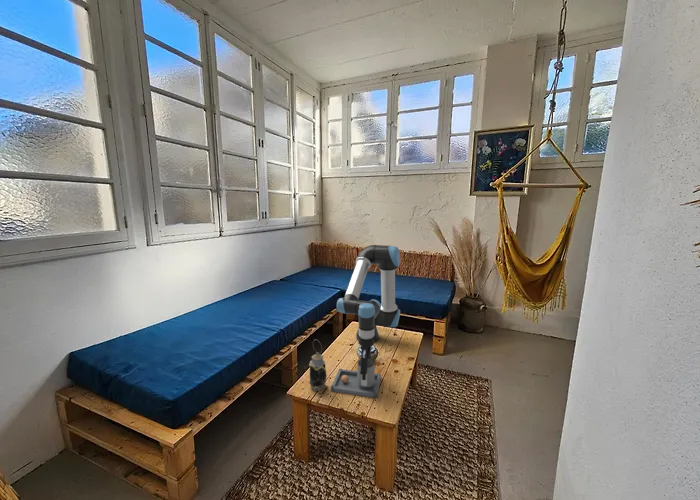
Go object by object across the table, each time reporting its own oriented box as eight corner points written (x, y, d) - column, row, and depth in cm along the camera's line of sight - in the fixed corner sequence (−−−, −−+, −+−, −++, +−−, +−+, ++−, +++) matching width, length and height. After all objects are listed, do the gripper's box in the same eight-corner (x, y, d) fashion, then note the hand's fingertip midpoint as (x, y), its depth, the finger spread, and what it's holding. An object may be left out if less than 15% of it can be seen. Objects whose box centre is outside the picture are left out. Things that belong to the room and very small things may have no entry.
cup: (373, 388, 135) (373, 369, 133) (355, 386, 137) (356, 366, 135) (375, 377, 143) (375, 359, 142) (358, 375, 145) (359, 357, 143)
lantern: (306, 387, 140) (304, 339, 135) (318, 380, 145) (318, 333, 141) (317, 395, 134) (316, 345, 130) (330, 387, 139) (329, 339, 135)
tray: (339, 372, 151) (339, 368, 151) (380, 378, 147) (380, 374, 146) (330, 392, 136) (330, 387, 136) (376, 399, 131) (376, 394, 131)
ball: (342, 379, 145) (342, 373, 144) (349, 380, 144) (349, 374, 143) (340, 384, 141) (340, 377, 141) (347, 385, 140) (347, 378, 140)
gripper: (362, 326, 147) (362, 366, 151) (354, 345, 127) (353, 392, 130) (377, 327, 145) (376, 368, 149) (370, 347, 125) (370, 394, 129)
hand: (365, 379), depth 140 cm, fingers closed on cup, 8 cm apart
